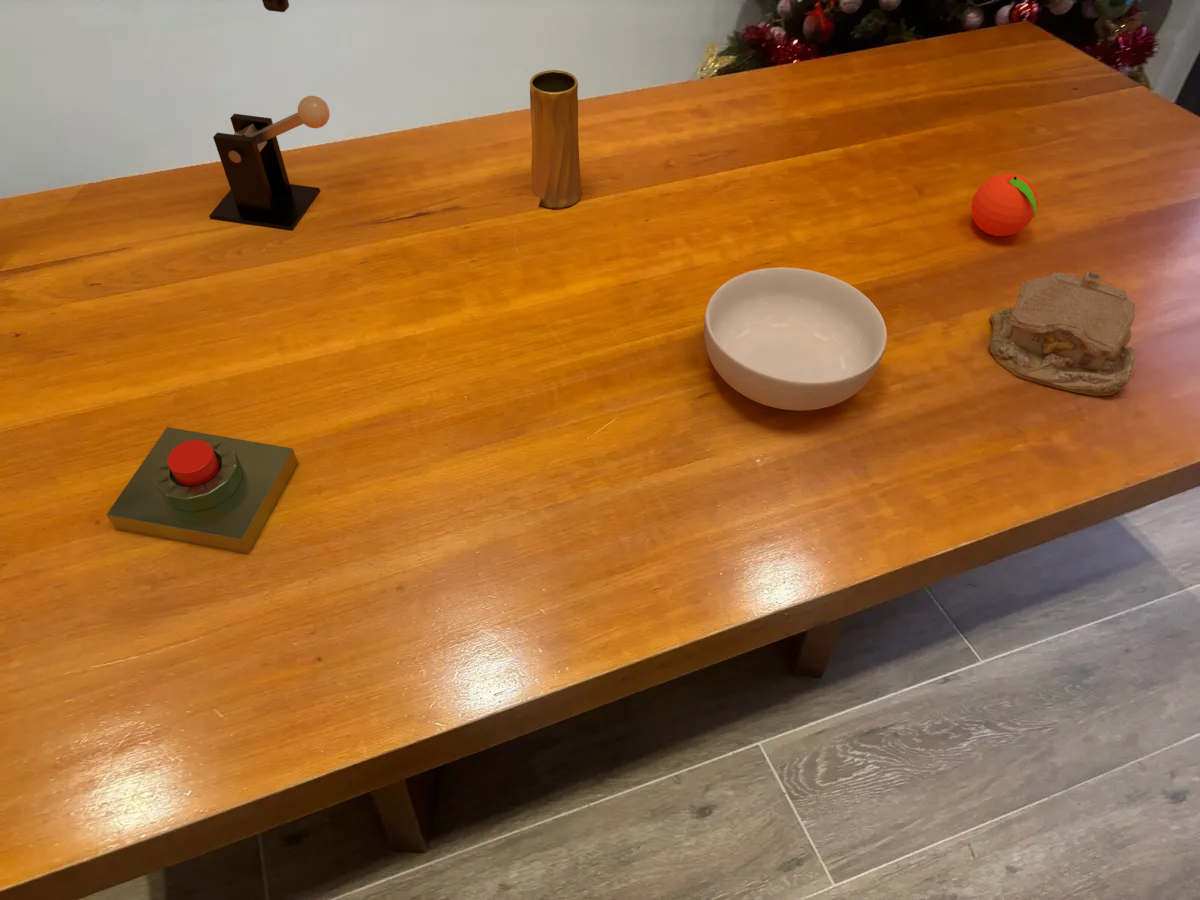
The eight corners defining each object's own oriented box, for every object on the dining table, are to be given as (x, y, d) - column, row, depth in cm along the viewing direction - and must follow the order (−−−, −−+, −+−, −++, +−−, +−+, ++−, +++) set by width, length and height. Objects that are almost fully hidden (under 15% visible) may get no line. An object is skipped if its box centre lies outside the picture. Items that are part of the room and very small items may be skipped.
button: (166, 482, 75) (158, 469, 73) (187, 450, 77) (180, 436, 76) (206, 489, 74) (199, 476, 73) (226, 457, 76) (220, 443, 75)
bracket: (322, 198, 107) (301, 114, 99) (294, 238, 102) (270, 152, 94) (244, 187, 108) (216, 103, 100) (212, 226, 103) (181, 141, 95)
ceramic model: (970, 360, 91) (1006, 282, 84) (998, 299, 98) (1034, 221, 90) (1114, 414, 87) (1166, 336, 79) (1134, 346, 93) (1184, 268, 85)
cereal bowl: (881, 341, 93) (899, 287, 87) (854, 457, 83) (873, 404, 77) (722, 302, 96) (730, 248, 91) (677, 408, 86) (684, 355, 81)
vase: (520, 193, 109) (514, 80, 98) (557, 174, 112) (555, 62, 101) (554, 215, 106) (552, 101, 95) (591, 195, 109) (593, 82, 98)
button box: (116, 530, 76) (96, 501, 73) (175, 442, 82) (159, 412, 79) (249, 555, 74) (235, 527, 71) (298, 464, 81) (288, 434, 78)
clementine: (1043, 244, 104) (1068, 191, 99) (996, 260, 102) (1020, 206, 97) (996, 207, 109) (1017, 154, 103) (950, 221, 107) (970, 168, 101)
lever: (340, 112, 95) (321, 85, 93) (328, 128, 93) (308, 100, 91) (254, 151, 101) (234, 126, 99) (241, 166, 99) (221, 141, 97)
